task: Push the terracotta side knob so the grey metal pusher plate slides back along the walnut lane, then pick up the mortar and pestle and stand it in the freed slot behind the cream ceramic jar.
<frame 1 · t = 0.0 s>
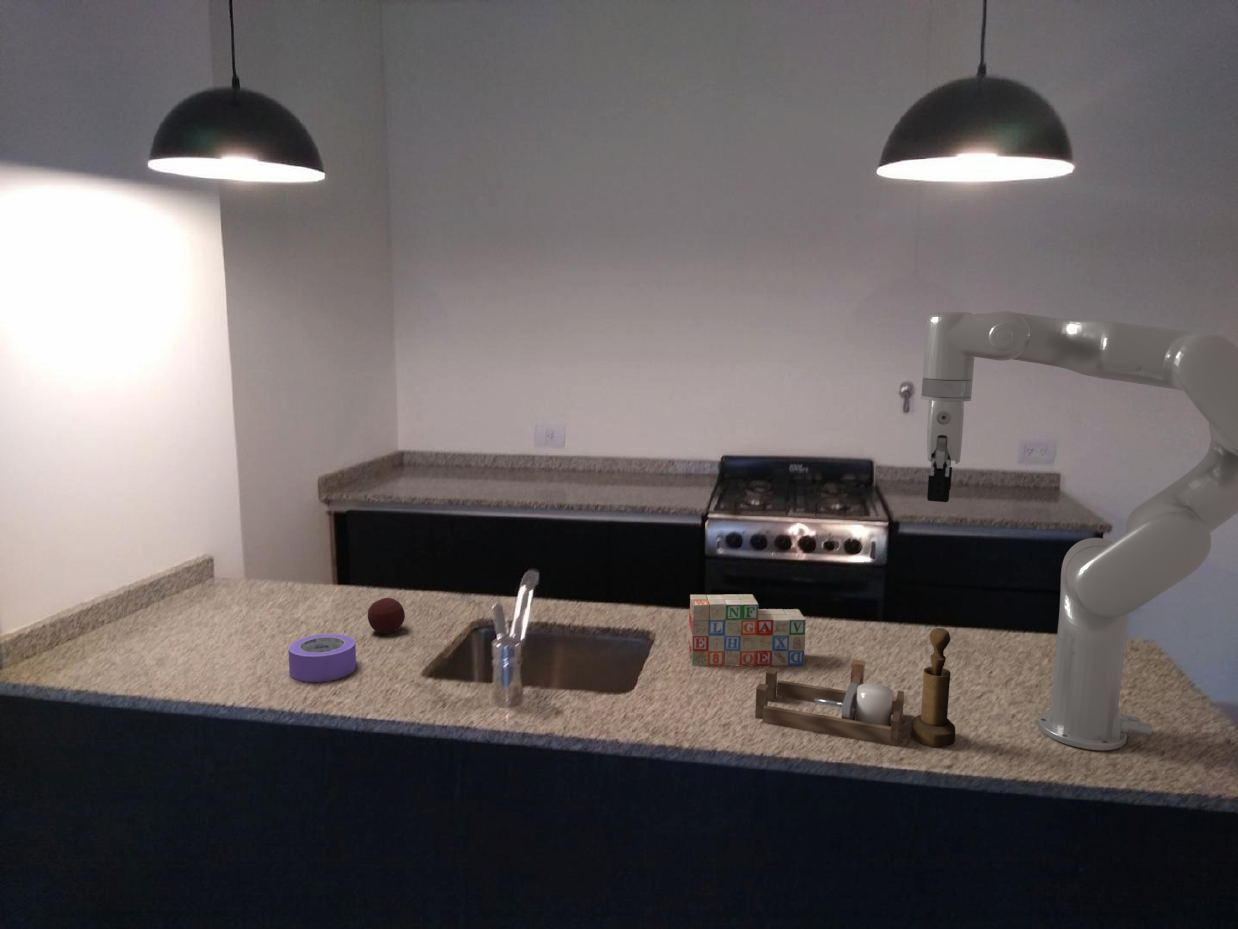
hand: (939, 495, 146), 37 cm above the worktop, tool pointing down, fingers open, 9 cm apart
stack of blocks: (745, 661, 172), on the worktop
potato: (387, 632, 186), on the worktop
tape roll: (323, 671, 166), on the worktop
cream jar: (872, 725, 146), resting in lane
lane: (830, 717, 148), on the worktop
pusher: (838, 692, 151), point 3 cm above the worktop, slide at 0.0 cm
mortar and pestle: (932, 739, 141), on the worktop
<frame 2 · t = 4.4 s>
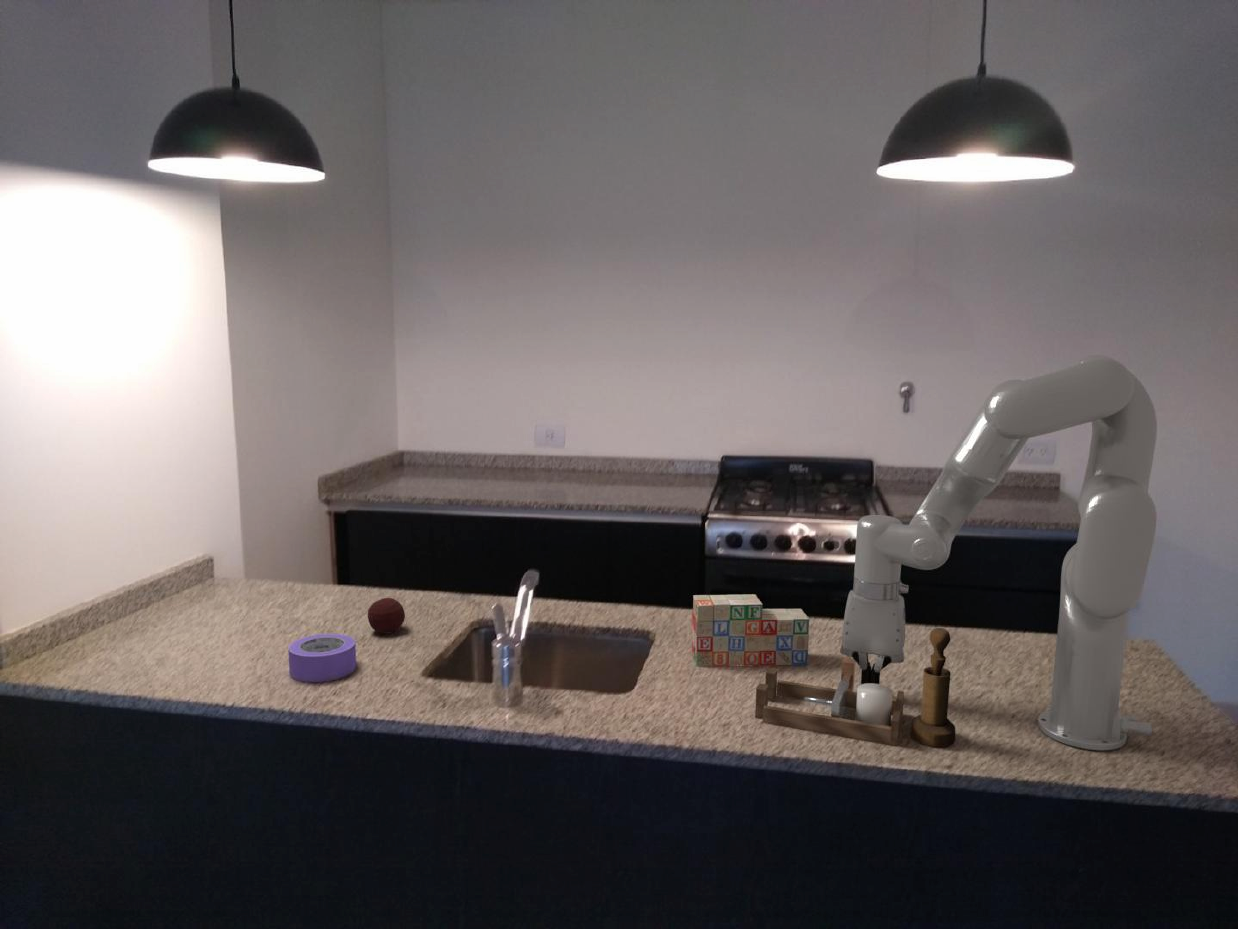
hand: (869, 689, 156), 1 cm above the worktop, tool pointing down, fingers closed
pusher: (828, 690, 151), point 3 cm above the worktop, slide at 1.6 cm, touching gripper
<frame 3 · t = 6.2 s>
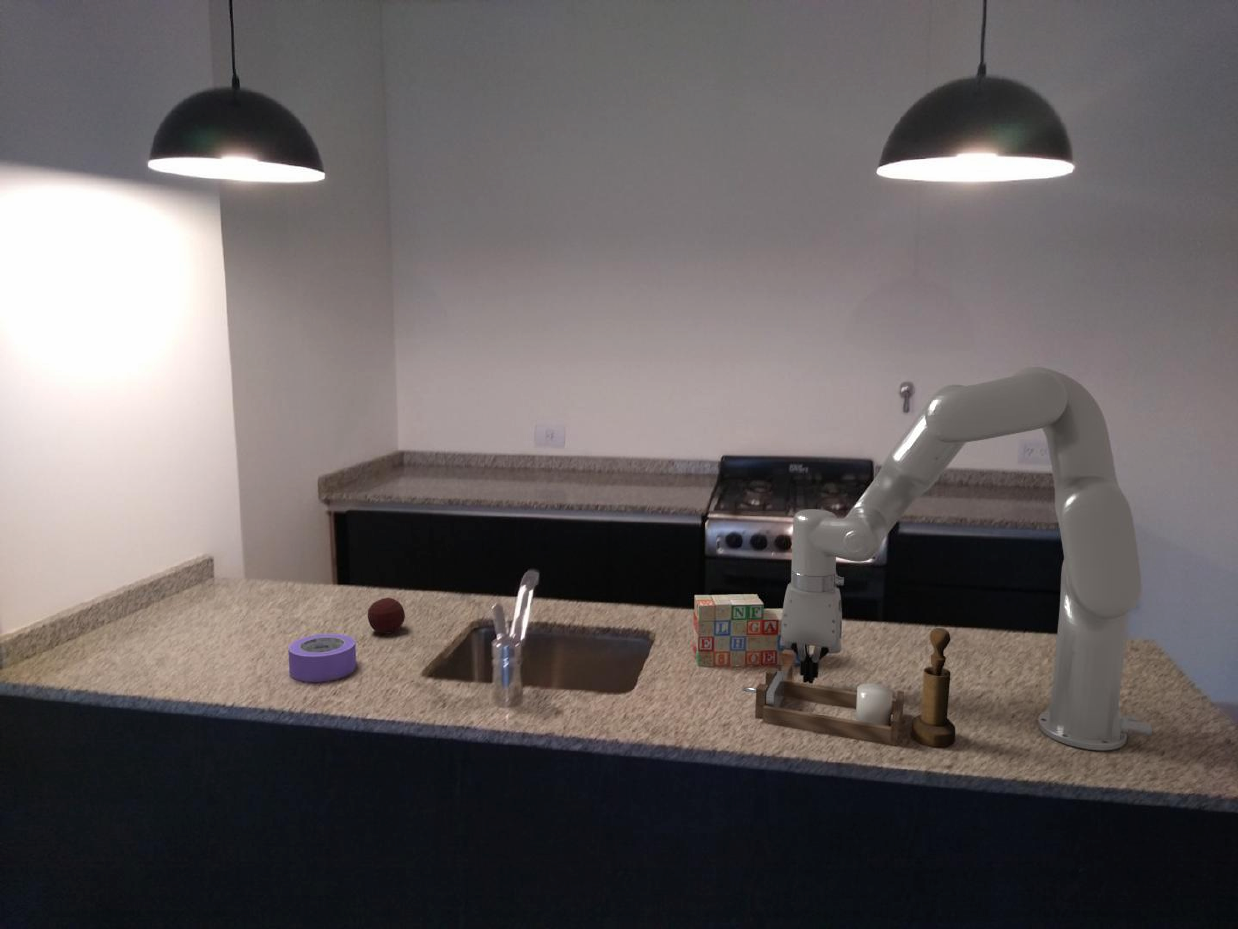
hand: (809, 680, 159), 1 cm above the worktop, tool pointing down, fingers closed
pusher: (766, 680, 155), point 3 cm above the worktop, slide at 12.1 cm, touching gripper
everything else where it was.
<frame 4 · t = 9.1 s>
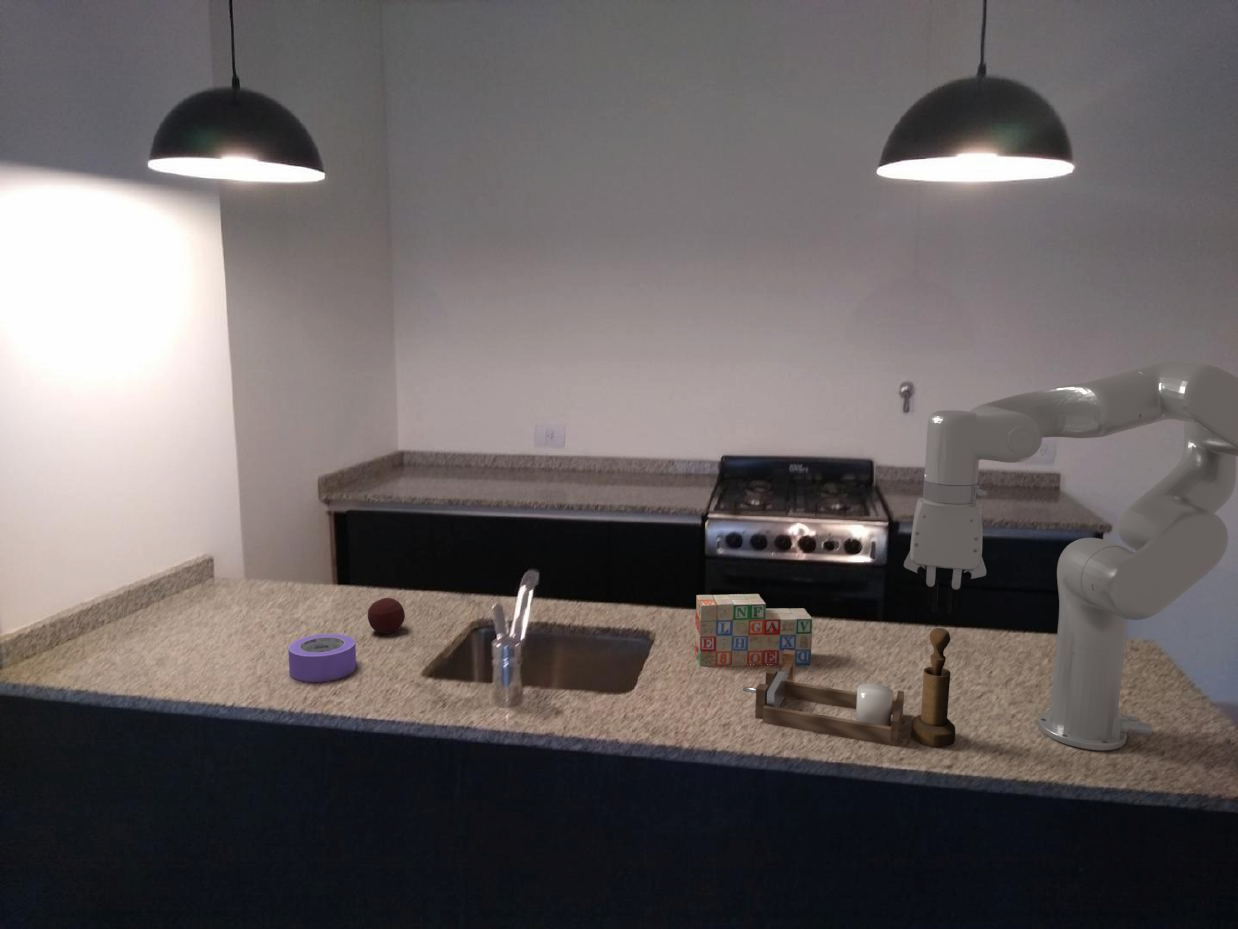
hand: (941, 609, 138), 21 cm above the worktop, tool pointing down, fingers closed
pusher: (767, 680, 155), point 3 cm above the worktop, slide at 12.0 cm
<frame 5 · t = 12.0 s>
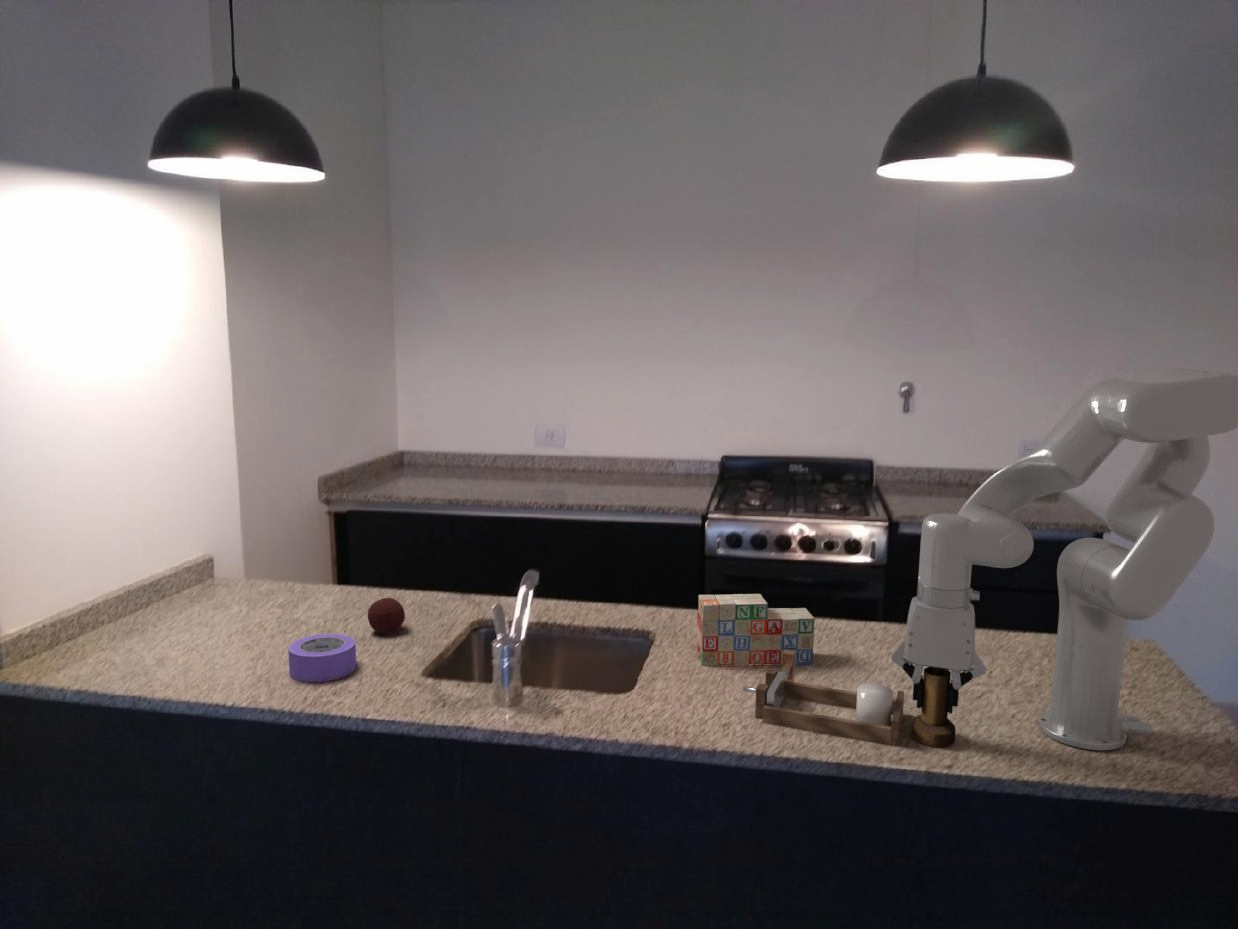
hand: (934, 706, 141), 5 cm above the worktop, tool pointing down, fingers closed on mortar and pestle, 3 cm apart
mortar and pestle: (932, 739, 141), on the worktop, touching gripper
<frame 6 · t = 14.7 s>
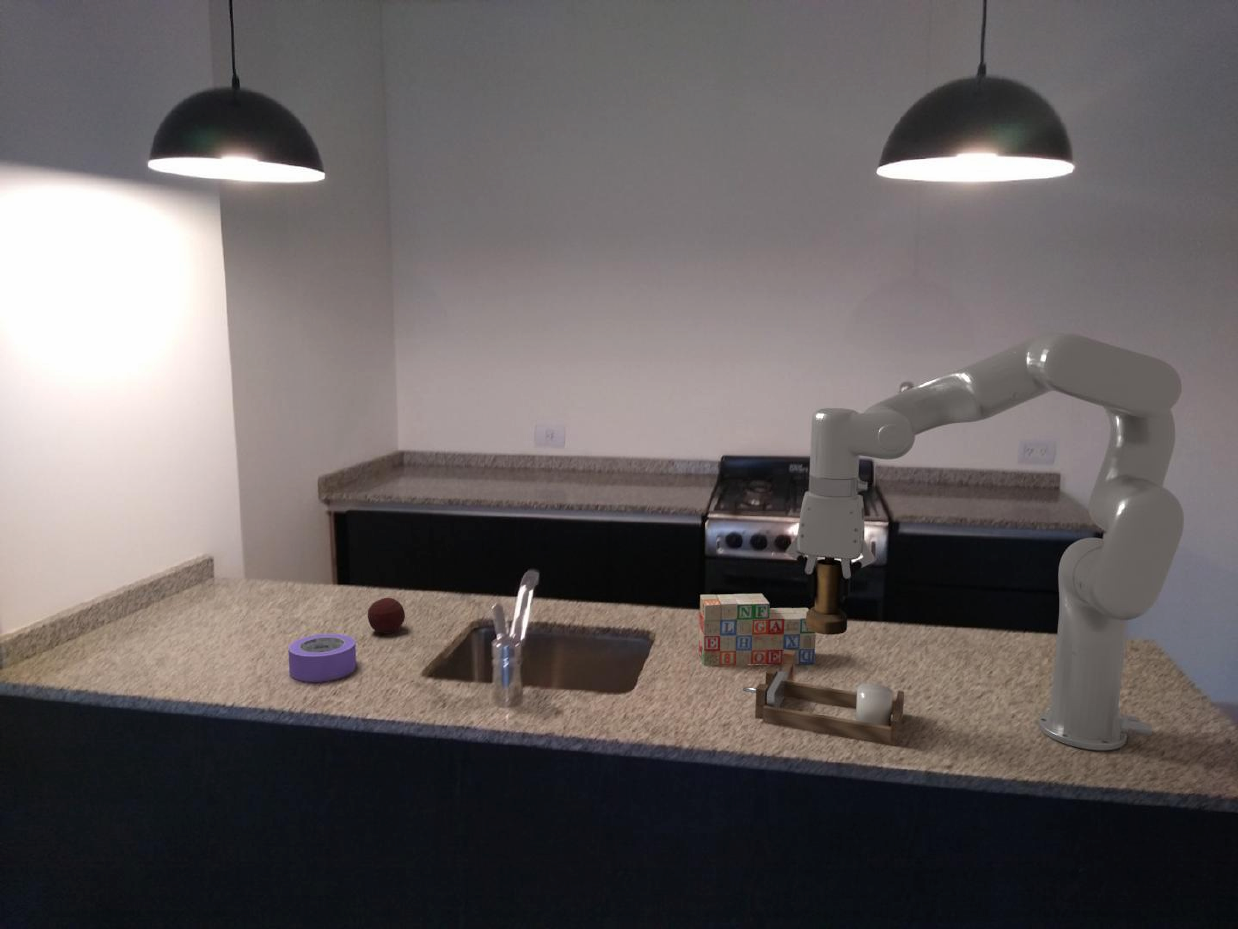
hand: (827, 596, 145), 21 cm above the worktop, tool pointing down, fingers closed on mortar and pestle, 3 cm apart
mortar and pestle: (825, 629, 146), point 15 cm above the worktop, touching gripper
when the fingers open (7 cm above the worktop, at t = 17.3 s): mortar and pestle drops 2 cm, resting in lane.
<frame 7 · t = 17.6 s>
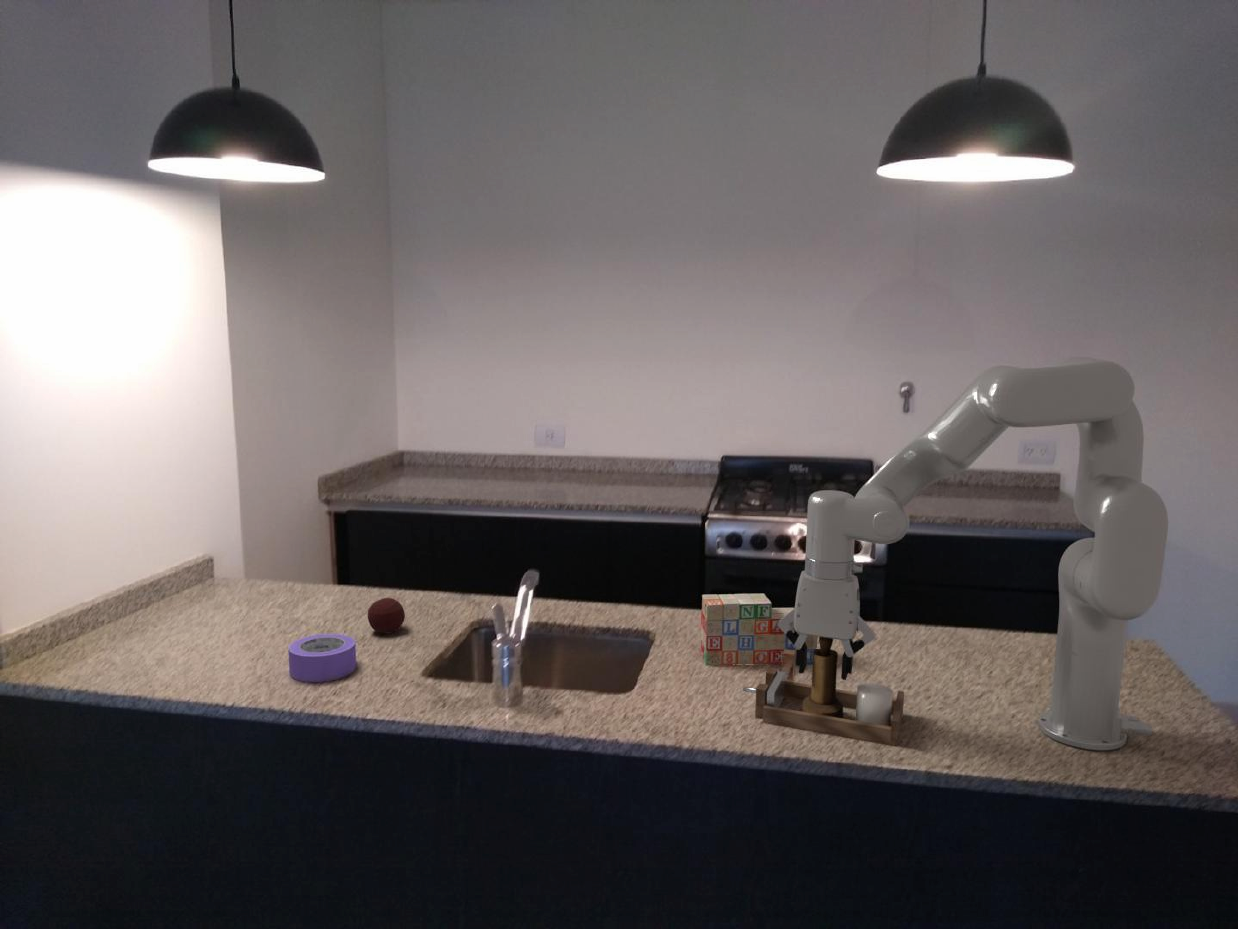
hand: (823, 672, 147), 8 cm above the worktop, tool pointing down, fingers open, 6 cm apart
mortar and pestle: (822, 717, 149), resting in lane
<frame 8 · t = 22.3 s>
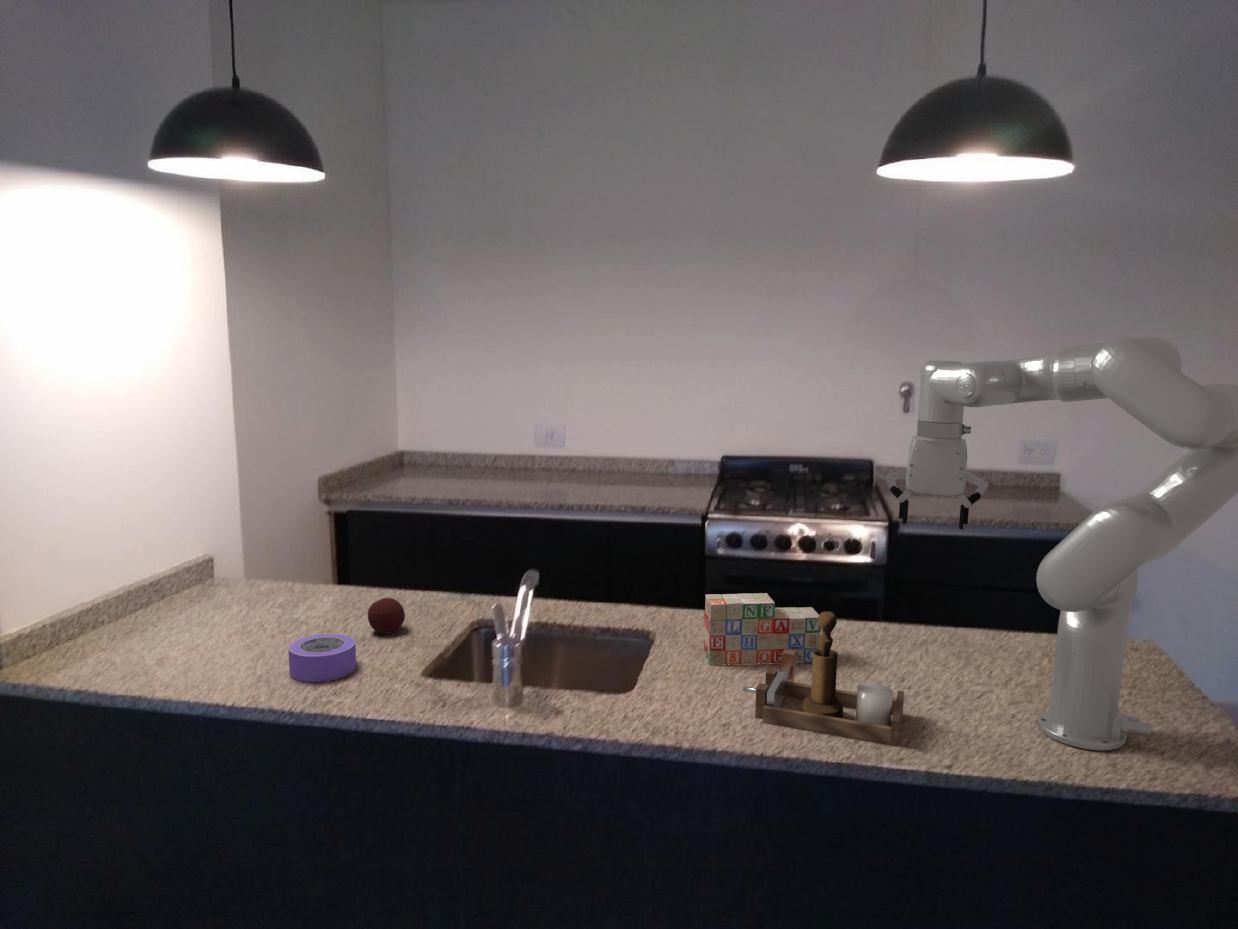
hand: (932, 525, 162), 28 cm above the worktop, tool pointing down, fingers open, 9 cm apart
at the end: mortar and pestle inside the target area on the lane (0.1 cm from its centre), point 0.0 cm above the lane's base; mortar and pestle tilted 0°; pusher slide at 12.0 cm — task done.
